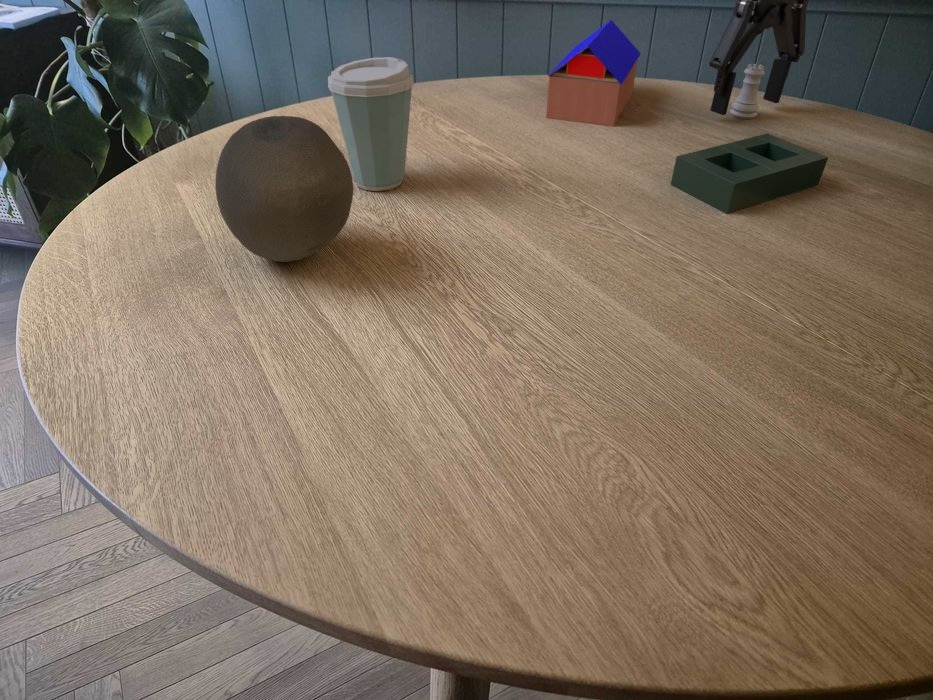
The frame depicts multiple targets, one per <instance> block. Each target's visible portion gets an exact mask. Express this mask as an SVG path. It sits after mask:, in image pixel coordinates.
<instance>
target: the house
mask: <svg viewBox="0 0 933 700" xmlns="http://www.w3.org/2000/svg"><path fill="white" fill-rule="evenodd" d="M640 57H641V51H640V50H638V48H637V47H636V46H635V45H634V44H633V42H631V40H629V38H628V37H627V36H626V34H625V33H624V32H623V31H622V30H621V29H620V28H619V26H618V25H617V24H616V23H615V22H614V21H613V20H612V19H610V20H609V21H608V22H606V23H605V24H603V25H602V26H601V27H600V28H598V29H597V30H596V31H594V32H593V33H591V34H590V35H589V36H588V37H586V38H585V39H583V40H582V41H581V42H580V43H578V44H577V45H576V46H574V47H573V48H572V49H571V51H569V53H568V54H567V55H565V57H564V58H563V59H562V60H561V61H560V62H559V63H558V64H557V65H556V66H555V68H554V69H552V70H551V72H550V73H549V74H548V75H547V77H548V78H549V79H548V89H547V100H546V101H547V102H546V113H545V119H552V120H553V119H555V120H562V121H568V122H576V123H586V124H593V125H601V126H606V127H607V126H609V127H615V125H616V124H617V121H618V119H619V117H620V116H621V114H622V112H623V110H624V109H625V107H626V105H627V103H628V102H629V99H630V98H631V96H632V94H633V93H634V92H633V91H634V85H635V79H636V74H637V67H638V60H639V58H640Z"/></svg>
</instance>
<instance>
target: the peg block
mask: <svg viewBox="0 0 933 700" xmlns="http://www.w3.org/2000/svg"><path fill="white" fill-rule="evenodd" d="M828 160H829V156H826V155H824V154H821V153H819V152H816V151H814V150H811V149H809V148H806V147H803V146H801V145H798V144H796V143H793V142H790V141H788V140H785V139H783V138H781V137H778V136H775V135H773V134H770V133H767V132H766V133H763V134H760V135H756V136H751V137H748V138H744V139H743V138H742V139H739V140H736V141H732V142H728V143H723V144H719V145H717V146H713V147H708V148H704V149H699V150H697V151H692V152H688V153H684V154H680V155H676V157H675V161H674V165H673V171H672V176H671V180H670V185H671V186H673V187H675V188H676V189H678V190H680V191H682V192H684V193H686V194H688V195H690V196H692V197H694V198H696V199H697V200H699V201H702V202H703V203H706V204H707V205H710V206H712V207H713V208H715V209H717V210H719V211H721V212H723V213H725V214H730V213H733V212H737V211H739V210H740V211H741V210H743V209H746V208H750V207H753V206H756V205H759V204H763V203H766V202H769V201H772V200H775V199H778V198H783V197H786V196H788V195H792V194H795V193H798V192H801V191H804V190H808V189H811V188H815V187H818V186H819V185H820V183H821V180H822V177H823V173H824V172H825V171H824V170H825V168H826V165H827V162H828Z"/></svg>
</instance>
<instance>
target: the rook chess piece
mask: <svg viewBox="0 0 933 700" xmlns="http://www.w3.org/2000/svg"><path fill="white" fill-rule="evenodd" d="M743 73H744V75H745V77H744V79H743V80H742V82H743V84H742V88H741V90H740V92H739V95H738V96H737V98H736V99H735V101H734V102H733V103H732V104H731V109H730V110H729V113H730V115H731V116H732V117H734V118H736V119H740V120H753V119H754V118H756V117H757V116H758V112H757V111H759V109H760V107H759V104H758V102H759V101H758V91H759V87H760V84H761V78H762V77H763V76H764V75H765V74H766V71H765V66H764V65H763V64H757V63H753V64H752V63H749V64H747V67H746V68H745V69H744V70H743Z"/></svg>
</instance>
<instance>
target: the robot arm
mask: <svg viewBox="0 0 933 700" xmlns="http://www.w3.org/2000/svg"><path fill="white" fill-rule="evenodd" d="M809 1H810V0H736V2H735V5H734V9H733V13H732V16H731V17H730V19H729V21H728V24H727V26H726V28H725V30H724V32H723V34H722V36H721V38H720V40H719V43H718V44H717V46H716V49H715V50H714V53H713V55H712V57H711V59H710V60H709V64H708V66H709V67H710V68H713V69H715V70H716V71H717V74H716V77H715V82H714V87H713V92H714V93H713V97H712V101H711V105H710V110H709V111H710V112H713V113H715V114H718V115H720V116H726V115H727V112H728V108H729V105H730V100H731V96H732V93H733V88H734V84H735V80H736V76H737V72H735V71H734V70H735V69H736V67H737V65H738V64H739V62H740V61H741V60H742V58H743V57H744V55H745V54H746V52H747V51H748V49H749V48H750V47H751V45H752V44H753V43H754V41H755V39H757V37H758V36H759V35H762V34H763V32H764V31H765V30H769V29H770V28H772V31H773V35H774V41H775V44H776V45H775V46H776V49H777V54H778V58H774V59H773V62H772V66H771V70H770V73H769V77H768V80H767V84H766V87H765V90H764V94H763V98H762V99H763V100H765V101H768V102H771V103H774V104H779V103H780V101H781V97H782V93H783V91H784V87H785V84H786V80H787V79H788V76H789V73H790V69H791V66H792V62H793V63H798V62H799V61H800V59H801V56H804V53H805V51H806V26H807V25H806V24H807V9H808V6H809V5H808V4H809Z"/></svg>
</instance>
